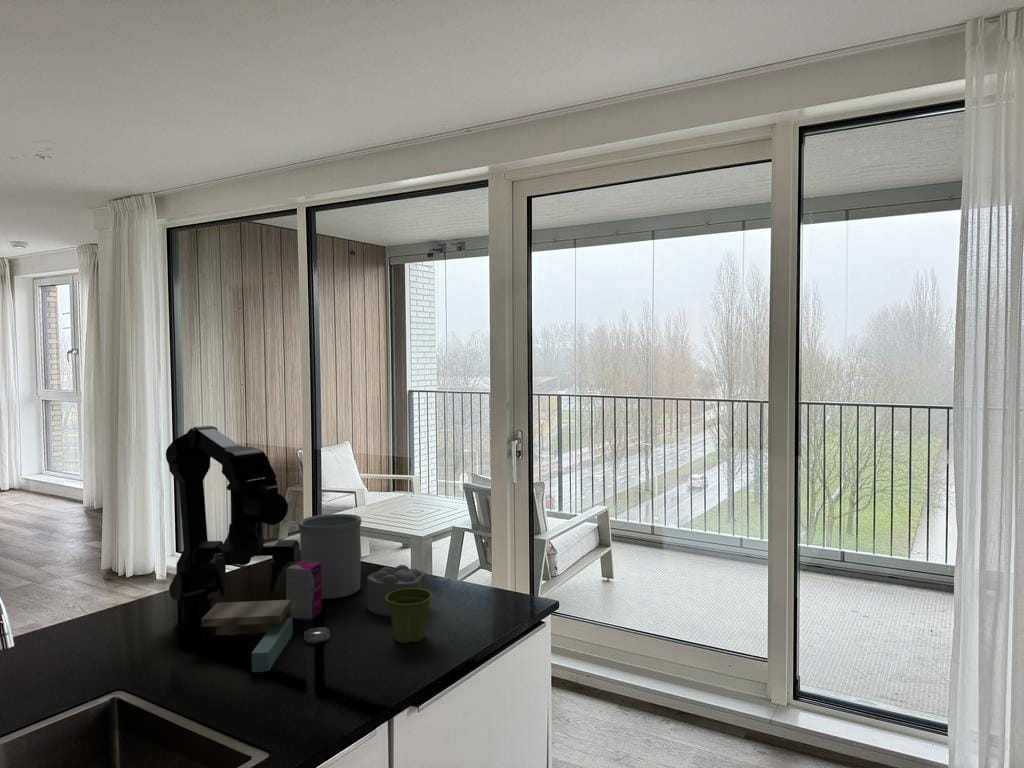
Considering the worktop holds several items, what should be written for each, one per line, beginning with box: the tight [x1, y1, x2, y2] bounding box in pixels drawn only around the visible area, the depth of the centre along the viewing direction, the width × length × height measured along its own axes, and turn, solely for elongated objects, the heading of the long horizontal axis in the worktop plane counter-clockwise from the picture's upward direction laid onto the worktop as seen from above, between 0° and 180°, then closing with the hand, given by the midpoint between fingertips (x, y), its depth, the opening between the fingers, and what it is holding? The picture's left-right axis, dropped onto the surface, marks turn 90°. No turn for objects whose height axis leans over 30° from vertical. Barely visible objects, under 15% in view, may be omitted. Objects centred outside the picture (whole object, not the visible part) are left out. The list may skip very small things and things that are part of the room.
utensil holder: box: [298, 513, 362, 600], centre depth 171 cm, size 15×15×18 cm
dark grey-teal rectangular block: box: [251, 618, 294, 673], centre depth 134 cm, size 3×17×4 cm, turn 3°
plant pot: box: [386, 588, 433, 644], centre depth 141 cm, size 9×9×9 cm
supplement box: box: [285, 560, 323, 622], centre depth 153 cm, size 6×6×12 cm
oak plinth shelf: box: [201, 599, 291, 636], centre depth 140 cm, size 15×9×6 cm, turn 95°
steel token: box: [303, 626, 331, 644], centre depth 141 cm, size 5×5×2 cm
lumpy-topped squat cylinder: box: [366, 564, 427, 617], centre depth 158 cm, size 10×13×9 cm
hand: (248, 595), depth 134 cm, fingers open, 9 cm apart
